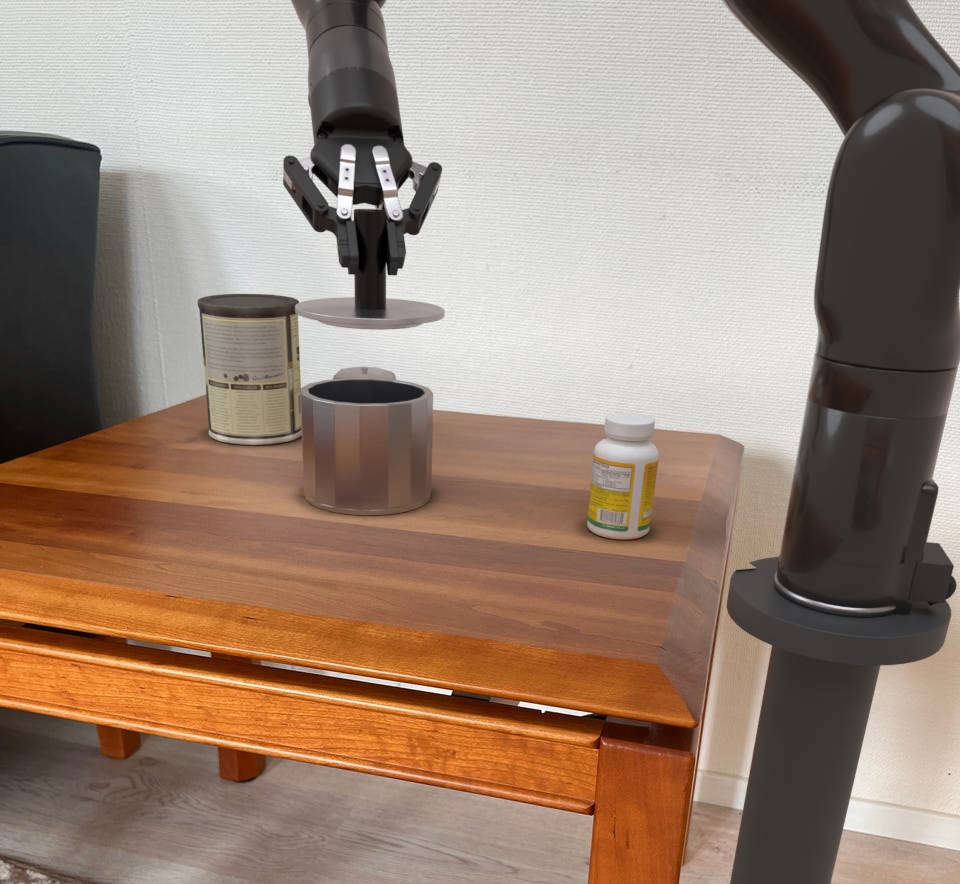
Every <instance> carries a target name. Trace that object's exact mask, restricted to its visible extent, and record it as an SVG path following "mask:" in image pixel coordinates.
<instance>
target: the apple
mask: <svg viewBox="0 0 960 884" xmlns="http://www.w3.org/2000/svg"><path fill="white" fill-rule="evenodd" d="M343 378H378V379H391V380H397V376H396V374H395V373H394V371H390V370H388V369H383V368H380V367H376V366H375V367H374V366H366V365H365V366H353V367H344V368H341V369H339V370H338V371H337V372H336V373H335V374H334V375H333V377H332V379H343Z"/></svg>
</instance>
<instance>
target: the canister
mask: <svg viewBox="0 0 960 884" xmlns="http://www.w3.org/2000/svg"><path fill="white" fill-rule="evenodd" d="M300 402H301V429H302V436H301V451H302V452H301V453H302V455H301V457H302V477H303V481H302V482H303V493H304V495H303V496H304V497H303V498H304V499H305V501H306V502H307V503H308V504H309V505H311V506H313V507H315V508H318V509H320V510H324V511H327V512H332V513H336V514H342V515H353V516H385V515H386V516H387V515H395V514H401V513H405V512H411V511H413V510H416V509H419V508H421V507H423V506H425V505H427V503H428V502H429V501H430V499H431V494H432V493H433V492H432V490H433V489H432V487H433V486H432V485H433V483H432V482H433V481H432V480H433V436H434V435H433V432H434V431H433V427H434V392H433V391H432V390H431V388H430V387H428V386H424V385H422V384H420V383H419V384H418V383H415V382H411V381H406V380H405V381H404V380H399V379H396V380H391V379H378V378H343V379H333V378H331V379H324V380H319V381H314V382H310V383H308V384H306V385H304V386H303V387H302V386H301V389H300Z"/></svg>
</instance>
